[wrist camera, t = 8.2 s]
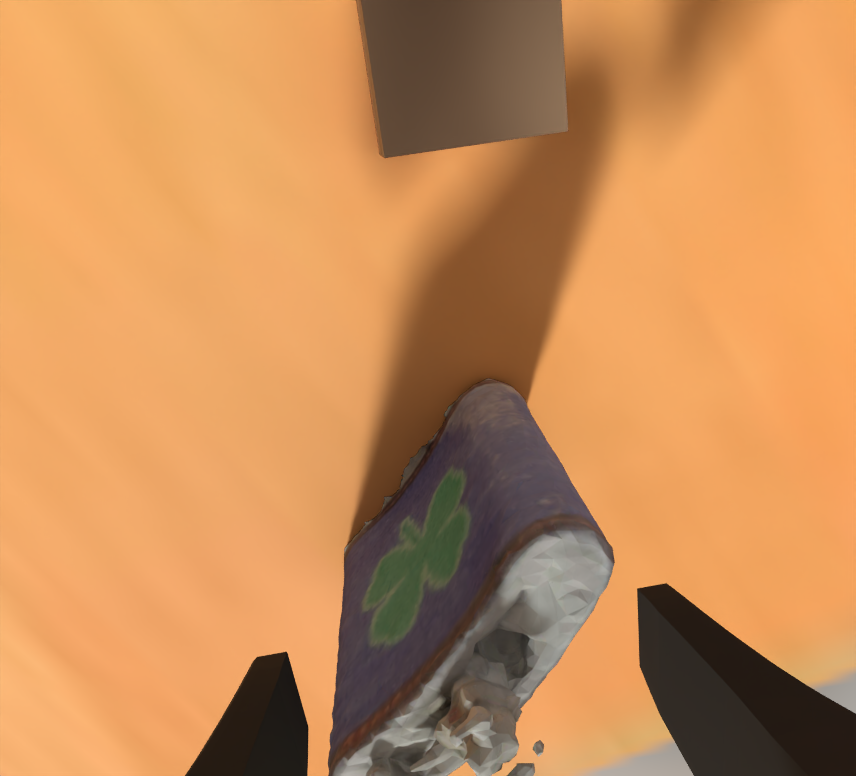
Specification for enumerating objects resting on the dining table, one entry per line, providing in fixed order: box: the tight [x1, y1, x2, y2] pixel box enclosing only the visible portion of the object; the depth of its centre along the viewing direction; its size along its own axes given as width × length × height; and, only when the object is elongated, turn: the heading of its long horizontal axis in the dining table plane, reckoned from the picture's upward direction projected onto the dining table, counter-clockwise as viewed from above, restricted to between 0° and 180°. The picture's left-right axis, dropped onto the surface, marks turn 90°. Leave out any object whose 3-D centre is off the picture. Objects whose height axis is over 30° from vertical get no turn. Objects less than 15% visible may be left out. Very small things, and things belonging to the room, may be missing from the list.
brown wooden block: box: [356, 0, 568, 158], centre depth 16 cm, size 4×4×5 cm
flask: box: [328, 378, 615, 776], centre depth 18 cm, size 9×3×11 cm, turn 145°
